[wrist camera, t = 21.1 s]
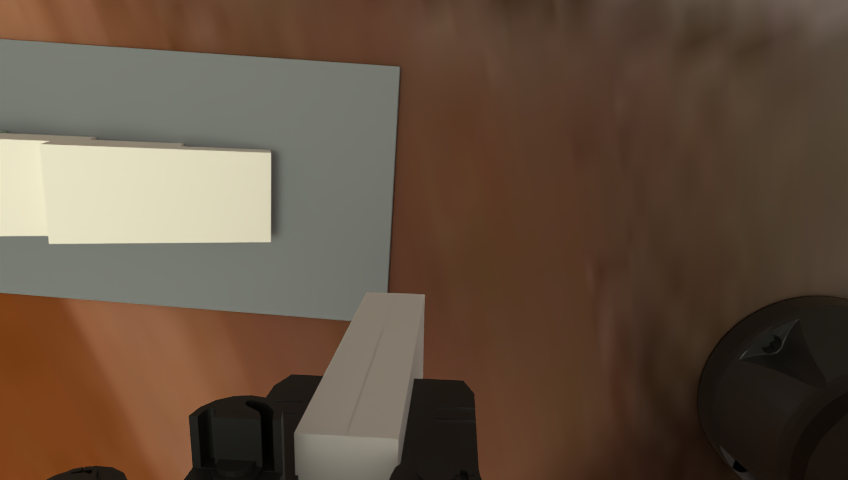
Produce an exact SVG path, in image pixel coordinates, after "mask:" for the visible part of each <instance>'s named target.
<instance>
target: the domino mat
mask: <svg viewBox="0 0 848 480" xmlns="http://www.w3.org/2000/svg"><path fill="white" fill-rule="evenodd" d="M400 68H401V67H396V66H382V65H367V64H353V63H338V62H324V61H309V60H295V59H280V58H266V57H252V56H237V55H223V54H208V53H194V52H179V51H165V50H150V49H136V48H121V47H107V46H93V45H78V44H64V43H49V42H35V41H20V40H6V39H0V130H2V131H7V133H13V134H37V135H61V136H84V137H96V138H97V140H113V141H137V142H162V143H184V146H188V147H213V148H239V149H264V150H270V151H271V242H233V243H105V244H49V240H48V236H0V293H11V294H23V295H36V296H48V297H61V298H73V299H86V300H98V301H110V302H123V303H135V304H148V305H160V306H172V307H185V308H197V309H210V310H222V311H235V312H247V313H259V314H272V315H284V316H297V317H309V318H322V319H334V320H346V321H352V319H353V317H354V315H355V313H356V311H357V309H358V308H359V306H360V304H361V302H362V300H363V298H364V296H365V294H366V292H377V293H388V283H389V265H390V247H391V229H392V211H393V193H394V175H395V157H396V140H397V122H398V104H399V86H400Z"/></svg>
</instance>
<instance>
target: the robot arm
mask: <svg viewBox="0 0 848 480" xmlns="http://www.w3.org/2000/svg"><path fill="white" fill-rule="evenodd" d="M424 305H425V294H402V293H377V292H366V294H365V296H364V298H363V300H362V302H361V304H360V306H359V308H358V309H357V311H356V313H355V315H354V317H353V319H352V321H351V323H350V325H349V327H348V329H347V331H346V333H345V335H344V337H343V339H342V341H341V343H340V345H339V347H338V348H337V350H336V352H335V354H334V356H333V358H332V360H331V362H330V364H329V366H328V368H327V370H326V372H325V374H324V376H312V375H290V376H289V377H287V378H286V379H284V380H282V381H281V382H279V383H278V384H276V385H275V386H274V387H273V388H272V390H271V391H270V392H269V394H268V395H267V397H266V398H264V397H258V396H252V395H250V396H233V397H228V398H224V399H219V400H215V401H213V402H211V403H209V404H206V405H204V406H202V407H200V408H198V409H197V410H196V411H195V412H193V413H192V414H191V415H189V424H190V437H191V450H192V463H193V468H192V470H191V471H190V472H189V474H188V475H187V476H186V478H185V479H184V480H482V479H481V477H480V474H479V469H478V452H477V435H476V418H475V401H474V393H473V392H472V391H471V389H470V388H469V387H468V386H467V385H466V384H465V382H464V381H457V380H436V379H423V347H424ZM698 412H699V418H700V422H701V425H702V428H703V431H704V433H705V435H706V437H707V439H708V441H709V442H710V444H711V445H712V447H713V448H714V449H715V451H716V452H717V453H718V454H719V456H720V457H721V458H722V460H723V461H724V462H725V464H726V465H727V466H728V467H729V468H730V469H731V470H732V471H733V472H734V473H735V474H736V475H737V476H738V477H740V478H741V479H742V480H848V300H846V299H842V298H836V297H828V296H809V297H800V298H794V299H790V300H786V301H782V302H779V303H776V304H773V305H771V306H768V307H766V308H764V309H762V310H760V311H758V312H756V313H754V314H753V315H751V316H749V317H748V318H746V319H745V320H743V321H742V322H741V323H739V324H738V325H737V326H736V327H735V328H733V329H732V330H731V331H730V332H729V333H728V334H727V335H726V336H725V337H724V338H723V340H722V341H721V342H720V343H719V344H718V346H717V347H716V349H715V350H714V351H713V353H712V355H711V356H710V358H709V360H708V362H707V364H706V366H705V368H704V371H703V374H702V377H701V380H700V385H699V391H698ZM47 480H127V479H126V476H125V474H124V473H123V472H121V471H119V470H117V469H115V468H113V467H101V466H91V467H85V468H83V467H81V468H76V469H72V470H70V471H67V472H64V473H61V474H58V475H55V476H53V477H51V478H49V479H47Z"/></svg>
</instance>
